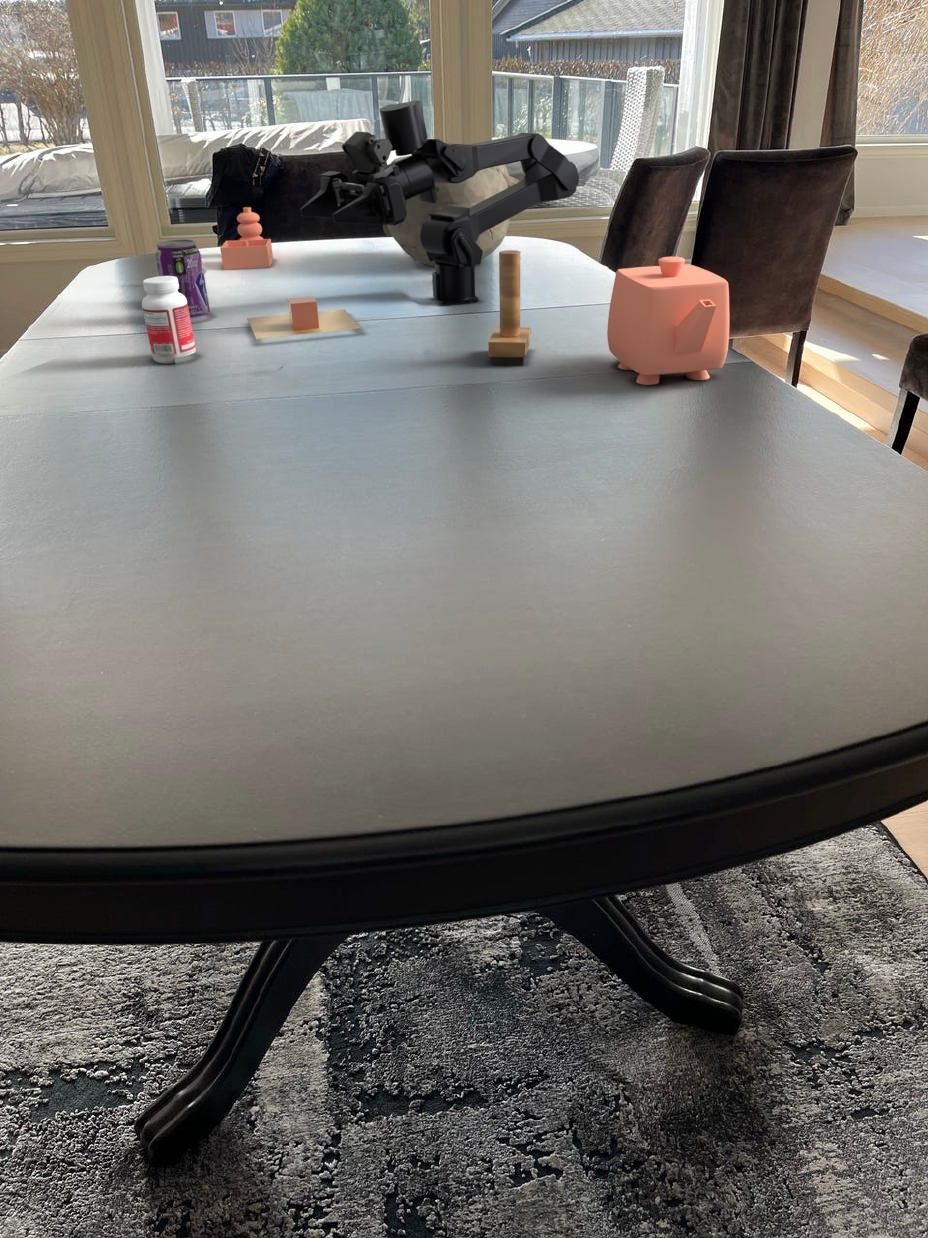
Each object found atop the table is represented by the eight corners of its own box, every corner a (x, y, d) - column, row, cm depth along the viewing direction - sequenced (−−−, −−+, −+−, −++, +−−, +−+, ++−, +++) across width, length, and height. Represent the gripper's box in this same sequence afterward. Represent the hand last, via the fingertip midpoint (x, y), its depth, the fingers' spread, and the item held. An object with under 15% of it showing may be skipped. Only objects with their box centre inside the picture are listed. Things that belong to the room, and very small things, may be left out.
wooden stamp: (495, 349, 135) (494, 246, 128) (530, 350, 135) (531, 246, 127) (488, 365, 129) (487, 257, 121) (525, 366, 128) (525, 257, 121)
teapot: (747, 393, 115) (763, 271, 108) (649, 402, 113) (658, 279, 106) (677, 347, 134) (686, 240, 126) (591, 354, 132) (595, 247, 124)
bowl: (352, 270, 190) (343, 159, 180) (436, 247, 210) (432, 147, 199) (463, 282, 176) (460, 164, 166) (541, 257, 196) (543, 150, 186)
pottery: (269, 267, 195) (263, 216, 190) (223, 269, 194) (215, 218, 189) (276, 252, 210) (270, 204, 205) (233, 254, 210) (227, 206, 205)
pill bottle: (192, 350, 140) (178, 272, 134) (201, 360, 135) (187, 280, 129) (149, 356, 137) (133, 277, 132) (157, 367, 133) (141, 285, 127)
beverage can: (199, 324, 154) (186, 246, 148) (159, 323, 155) (145, 246, 149) (217, 313, 160) (205, 238, 154) (179, 313, 161) (165, 238, 155)
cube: (315, 322, 149) (312, 296, 147) (319, 328, 145) (316, 301, 143) (290, 324, 148) (287, 298, 146) (293, 330, 144) (290, 303, 142)
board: (345, 314, 157) (344, 308, 156) (361, 334, 145) (361, 327, 145) (248, 324, 153) (247, 317, 153) (256, 345, 141) (255, 338, 141)
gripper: (352, 124, 149) (269, 154, 143) (423, 127, 137) (336, 161, 130) (369, 197, 156) (291, 229, 150) (438, 207, 144) (357, 242, 137)
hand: (317, 215), depth 141 cm, fingers open, 9 cm apart
